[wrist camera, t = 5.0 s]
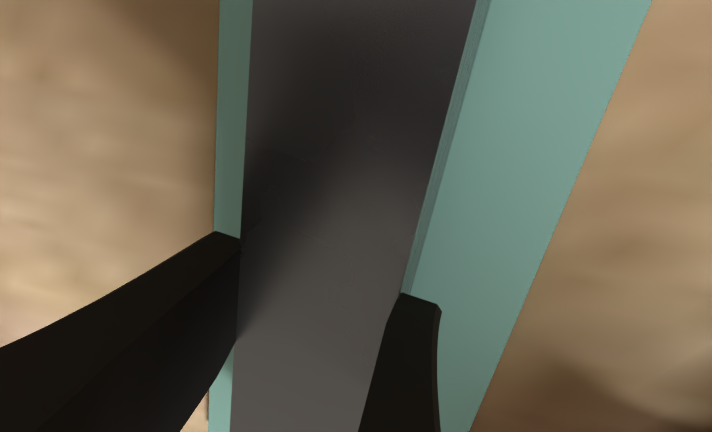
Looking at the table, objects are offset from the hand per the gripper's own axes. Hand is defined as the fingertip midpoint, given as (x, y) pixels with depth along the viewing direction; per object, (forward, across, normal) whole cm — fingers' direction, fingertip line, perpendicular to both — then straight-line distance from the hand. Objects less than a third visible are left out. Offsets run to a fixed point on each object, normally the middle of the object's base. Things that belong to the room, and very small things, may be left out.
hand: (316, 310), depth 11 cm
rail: (+2, 0, 0) cm, 2 cm away
